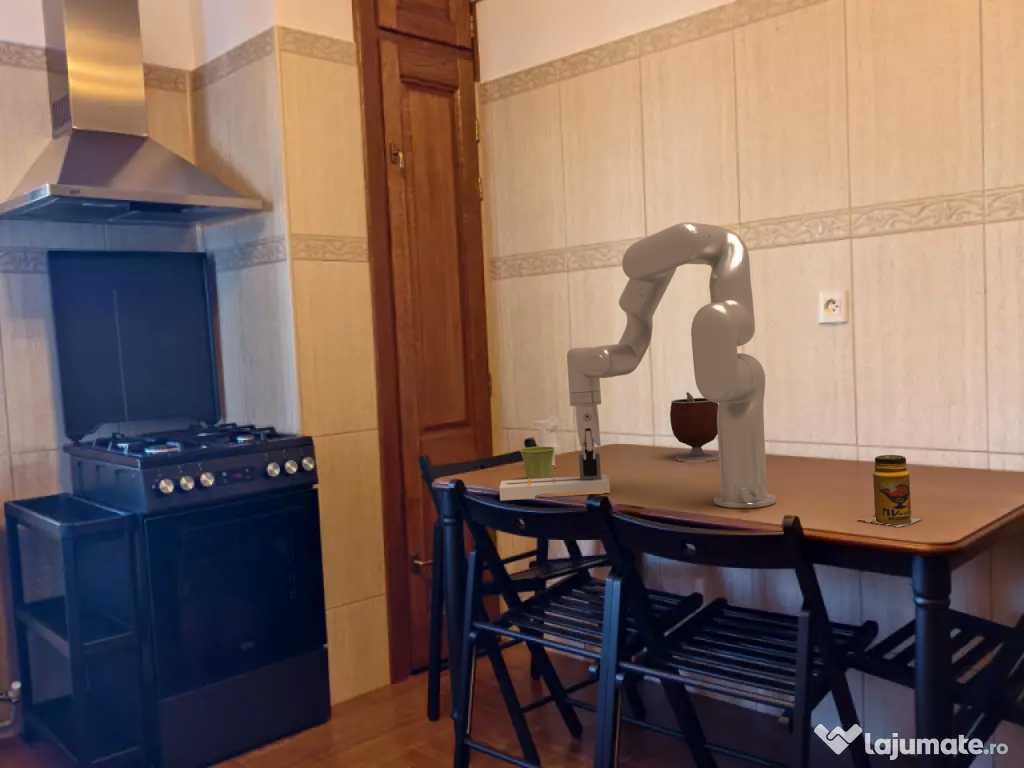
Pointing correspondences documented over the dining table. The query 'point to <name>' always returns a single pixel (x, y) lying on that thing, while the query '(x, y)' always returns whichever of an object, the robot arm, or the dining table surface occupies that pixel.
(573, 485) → the console
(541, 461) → the plant pot
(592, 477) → the fader
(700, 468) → the dining table surface
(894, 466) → the condiment
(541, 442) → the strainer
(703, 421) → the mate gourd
